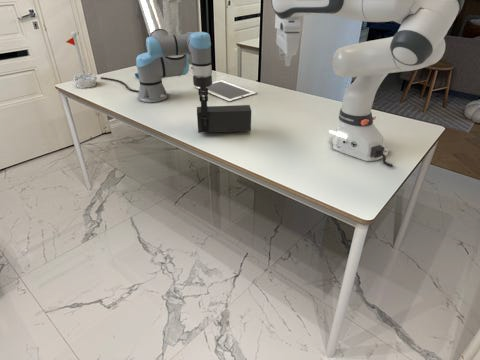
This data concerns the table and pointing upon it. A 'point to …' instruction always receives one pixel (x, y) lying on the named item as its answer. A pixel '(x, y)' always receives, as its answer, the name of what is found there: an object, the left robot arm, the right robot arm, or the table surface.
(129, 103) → the table surface
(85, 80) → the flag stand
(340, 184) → the table surface
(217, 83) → the tablet
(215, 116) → the box
